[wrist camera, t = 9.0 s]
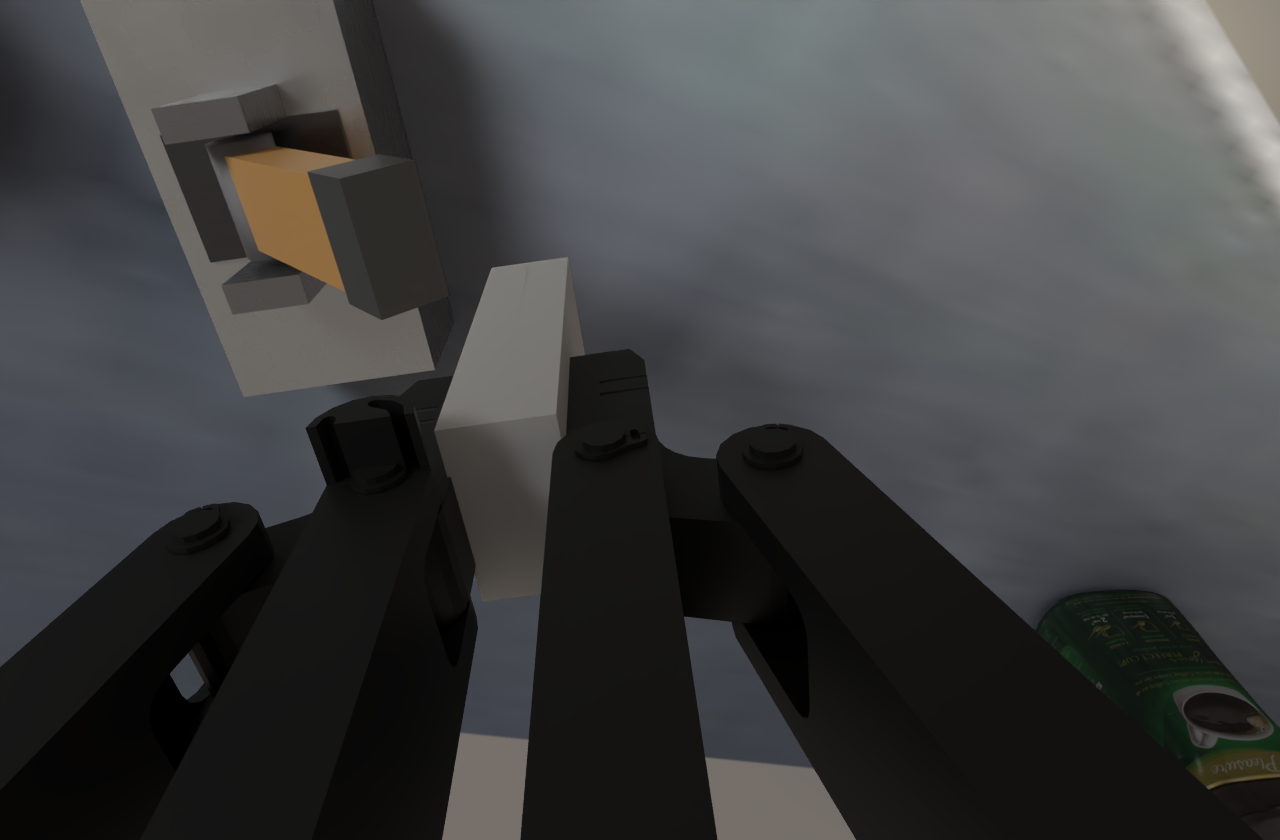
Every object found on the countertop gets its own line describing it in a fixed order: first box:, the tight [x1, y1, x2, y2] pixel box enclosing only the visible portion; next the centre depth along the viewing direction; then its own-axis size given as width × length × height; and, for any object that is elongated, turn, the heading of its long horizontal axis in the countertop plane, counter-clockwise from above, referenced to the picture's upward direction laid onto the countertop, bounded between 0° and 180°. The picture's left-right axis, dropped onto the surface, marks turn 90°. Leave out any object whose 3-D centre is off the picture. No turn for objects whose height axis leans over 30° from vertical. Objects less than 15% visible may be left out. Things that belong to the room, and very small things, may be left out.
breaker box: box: [80, 0, 454, 397], centre depth 34 cm, size 9×18×10 cm, turn 7°
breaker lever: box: [205, 132, 449, 320], centre depth 27 cm, size 2×4×14 cm
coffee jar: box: [1036, 590, 1280, 840], centre depth 48 cm, size 10×8×19 cm
